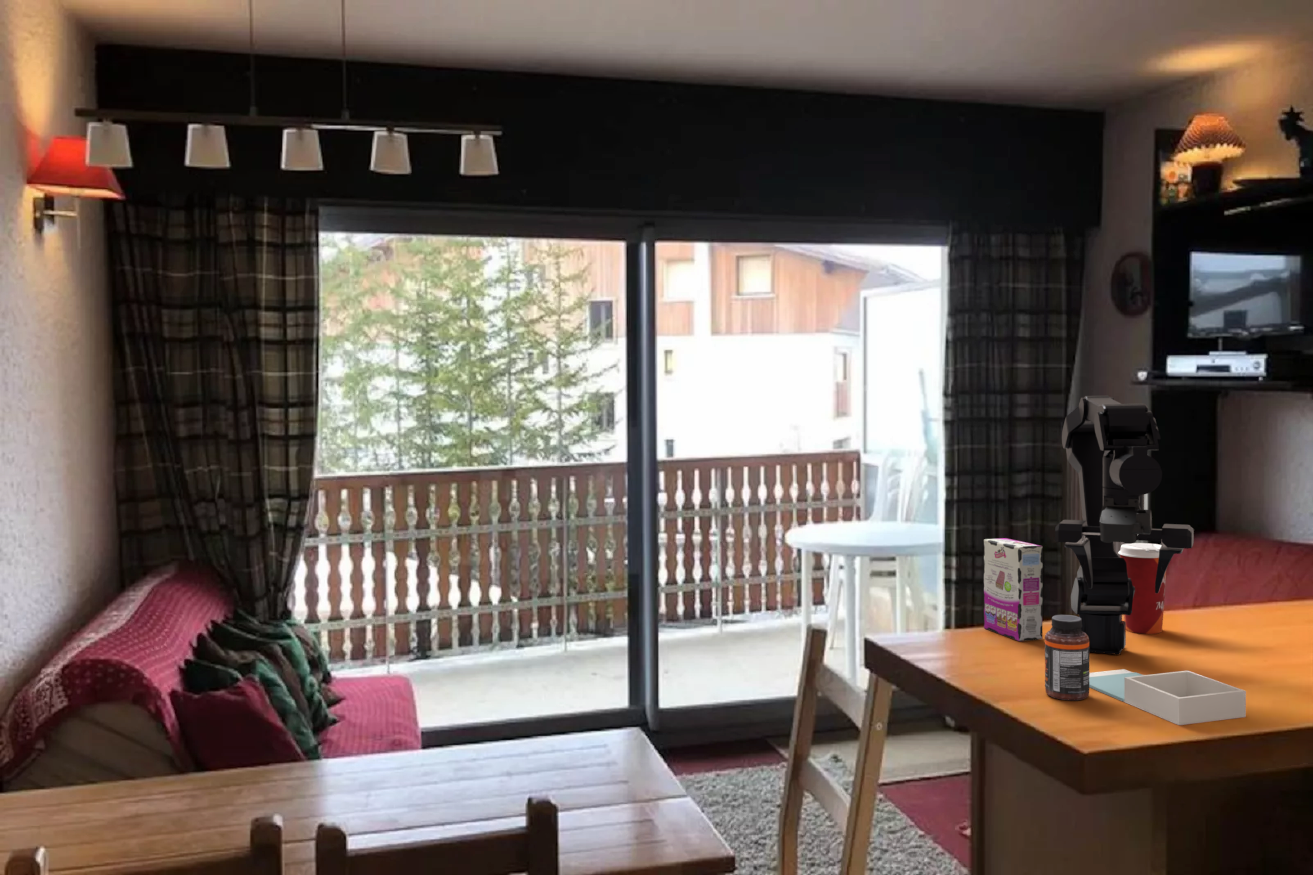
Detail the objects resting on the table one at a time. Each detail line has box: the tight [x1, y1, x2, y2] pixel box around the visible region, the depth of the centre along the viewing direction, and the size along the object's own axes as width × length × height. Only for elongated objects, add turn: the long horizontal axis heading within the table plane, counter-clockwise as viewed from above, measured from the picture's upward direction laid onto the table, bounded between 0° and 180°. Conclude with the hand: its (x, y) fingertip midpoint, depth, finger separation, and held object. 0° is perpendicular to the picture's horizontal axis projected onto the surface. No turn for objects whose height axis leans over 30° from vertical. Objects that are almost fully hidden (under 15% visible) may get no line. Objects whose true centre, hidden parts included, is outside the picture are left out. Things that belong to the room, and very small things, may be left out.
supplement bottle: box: [1044, 614, 1090, 702], centre depth 154 cm, size 6×6×11 cm
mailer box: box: [1089, 668, 1247, 726], centre depth 153 cm, size 10×23×4 cm, turn 15°
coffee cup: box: [1117, 542, 1167, 635], centre depth 191 cm, size 8×8×15 cm
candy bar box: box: [983, 537, 1044, 642], centre depth 190 cm, size 11×5×16 cm, turn 16°
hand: (1123, 590), depth 163 cm, fingers open, 9 cm apart
